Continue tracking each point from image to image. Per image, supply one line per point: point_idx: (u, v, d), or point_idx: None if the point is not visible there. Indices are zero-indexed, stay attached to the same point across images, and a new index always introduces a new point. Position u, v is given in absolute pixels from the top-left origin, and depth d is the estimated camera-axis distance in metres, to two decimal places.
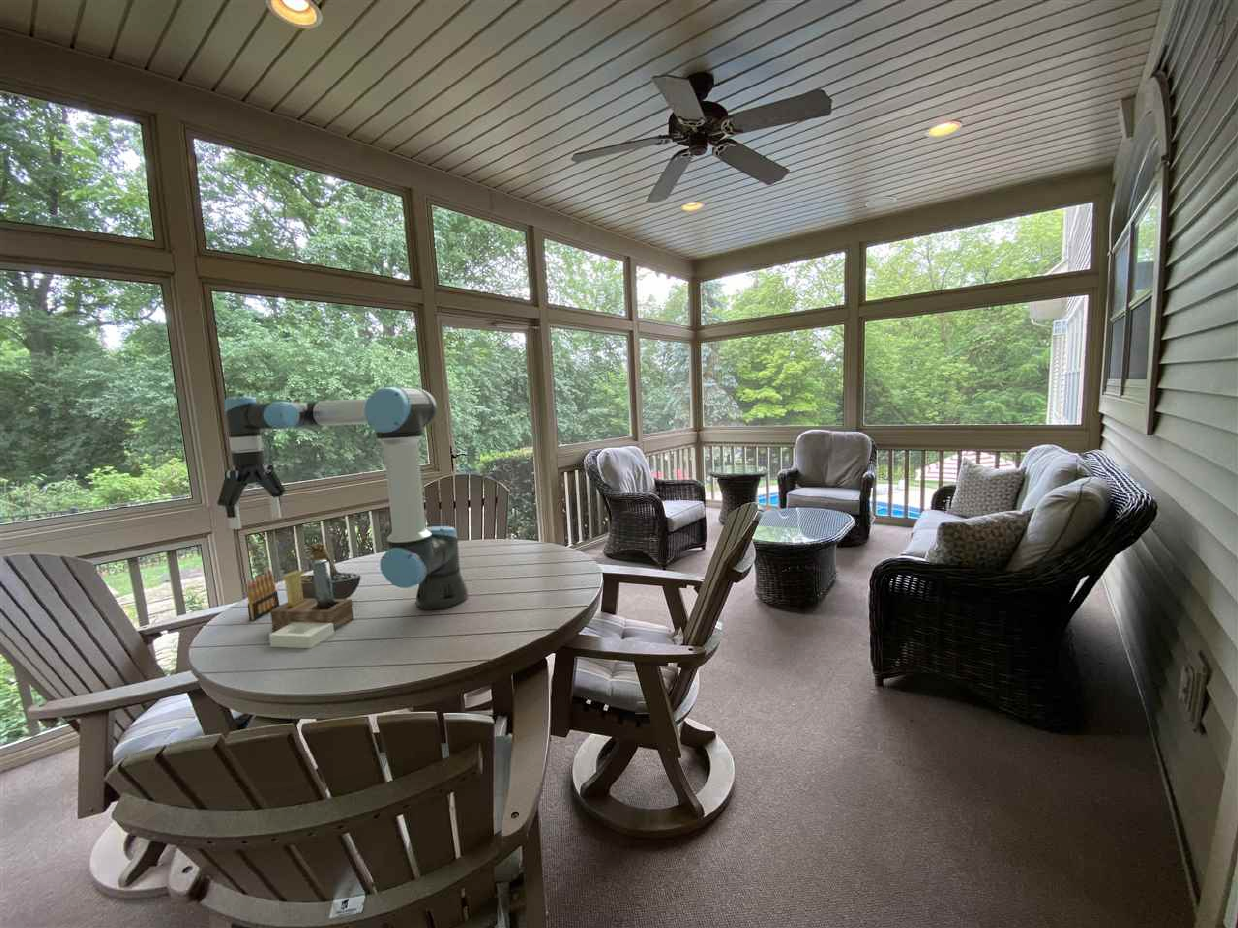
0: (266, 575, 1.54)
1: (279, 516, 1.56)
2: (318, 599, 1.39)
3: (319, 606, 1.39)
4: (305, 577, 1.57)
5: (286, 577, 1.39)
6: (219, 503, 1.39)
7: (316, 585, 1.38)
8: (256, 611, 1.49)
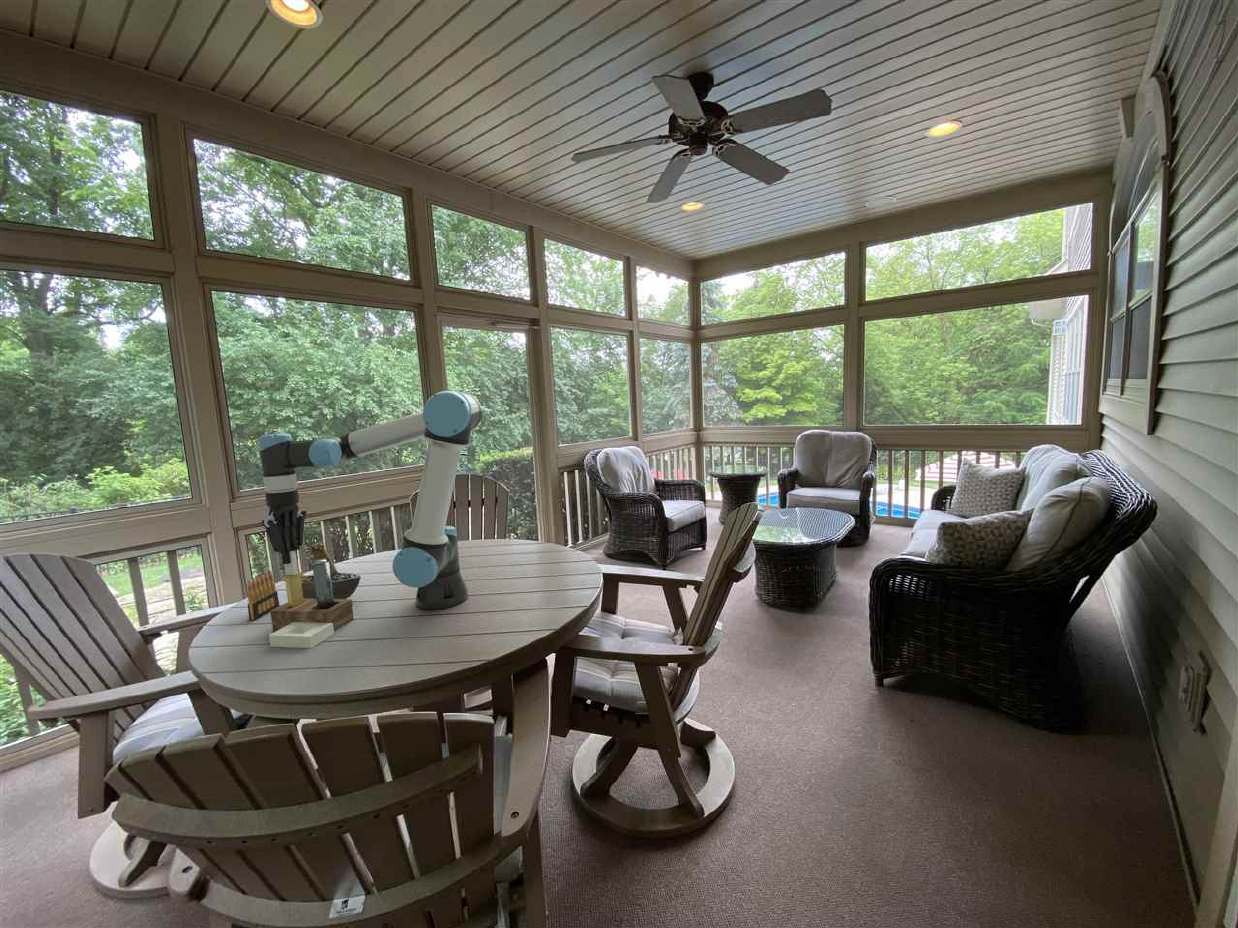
0: (266, 575, 1.54)
1: (296, 572, 1.41)
2: (318, 599, 1.39)
3: (319, 606, 1.39)
4: (305, 577, 1.57)
5: (286, 578, 1.39)
6: (275, 550, 1.37)
7: (316, 585, 1.38)
8: (256, 611, 1.49)
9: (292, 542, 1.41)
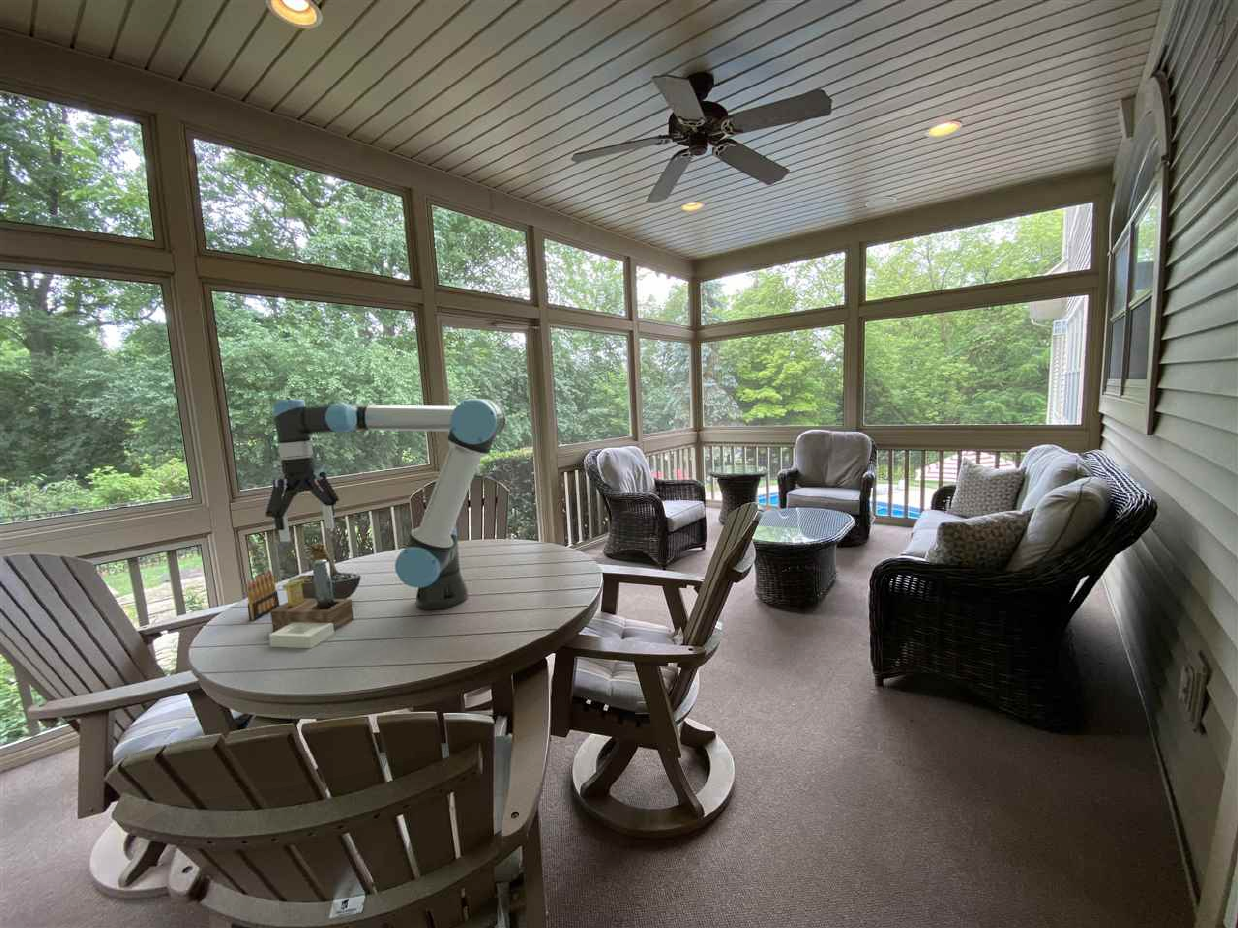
0: (266, 575, 1.54)
1: (332, 527, 1.45)
2: (318, 599, 1.39)
3: (319, 606, 1.39)
4: (305, 577, 1.57)
5: (287, 586, 1.39)
6: (267, 514, 1.29)
7: (316, 585, 1.38)
8: (256, 611, 1.49)
9: (326, 501, 1.44)
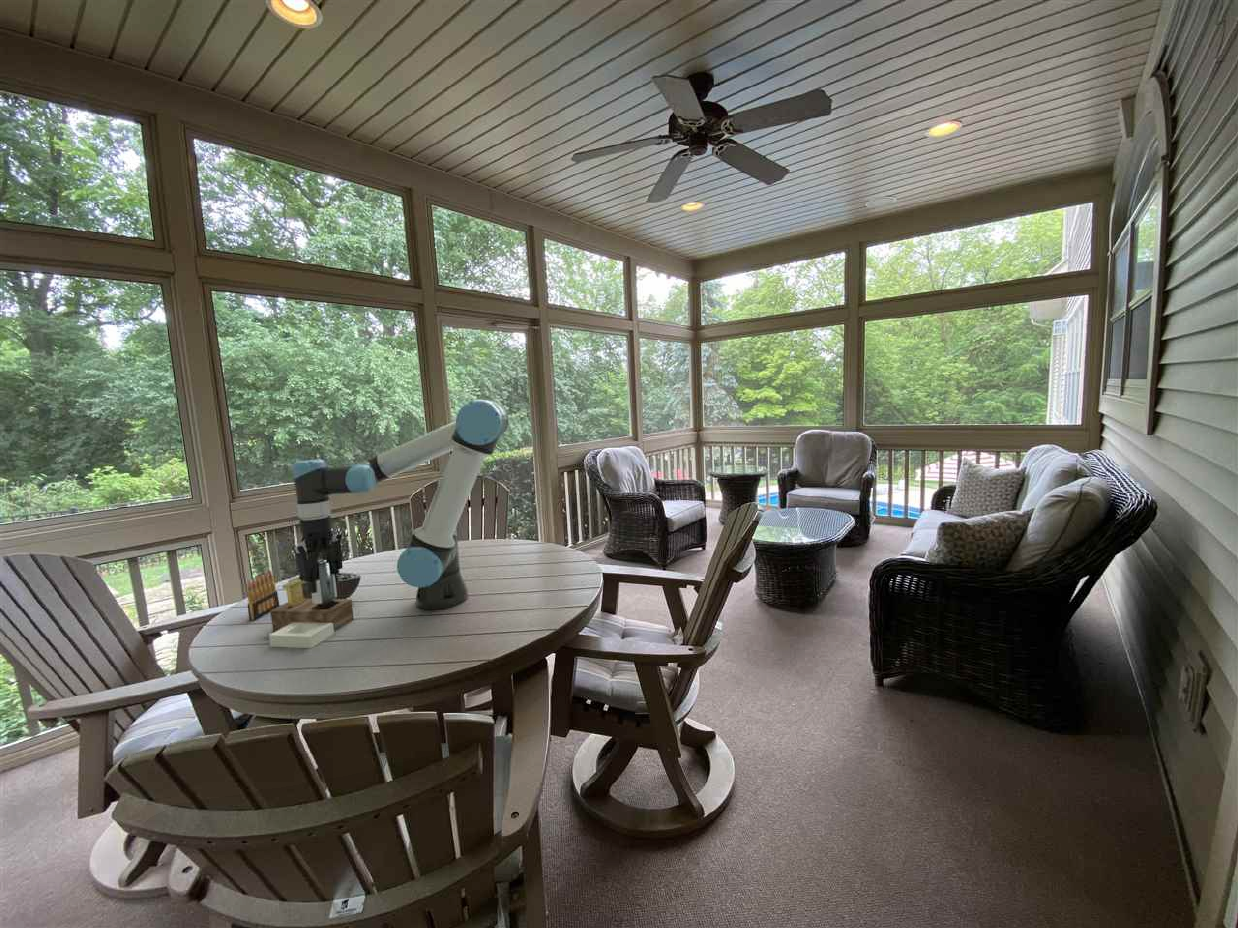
0: (266, 575, 1.54)
1: (335, 595, 1.42)
2: None
3: (319, 606, 1.39)
4: None
5: (287, 586, 1.39)
6: (301, 579, 1.35)
7: None
8: (256, 611, 1.49)
9: (331, 567, 1.42)
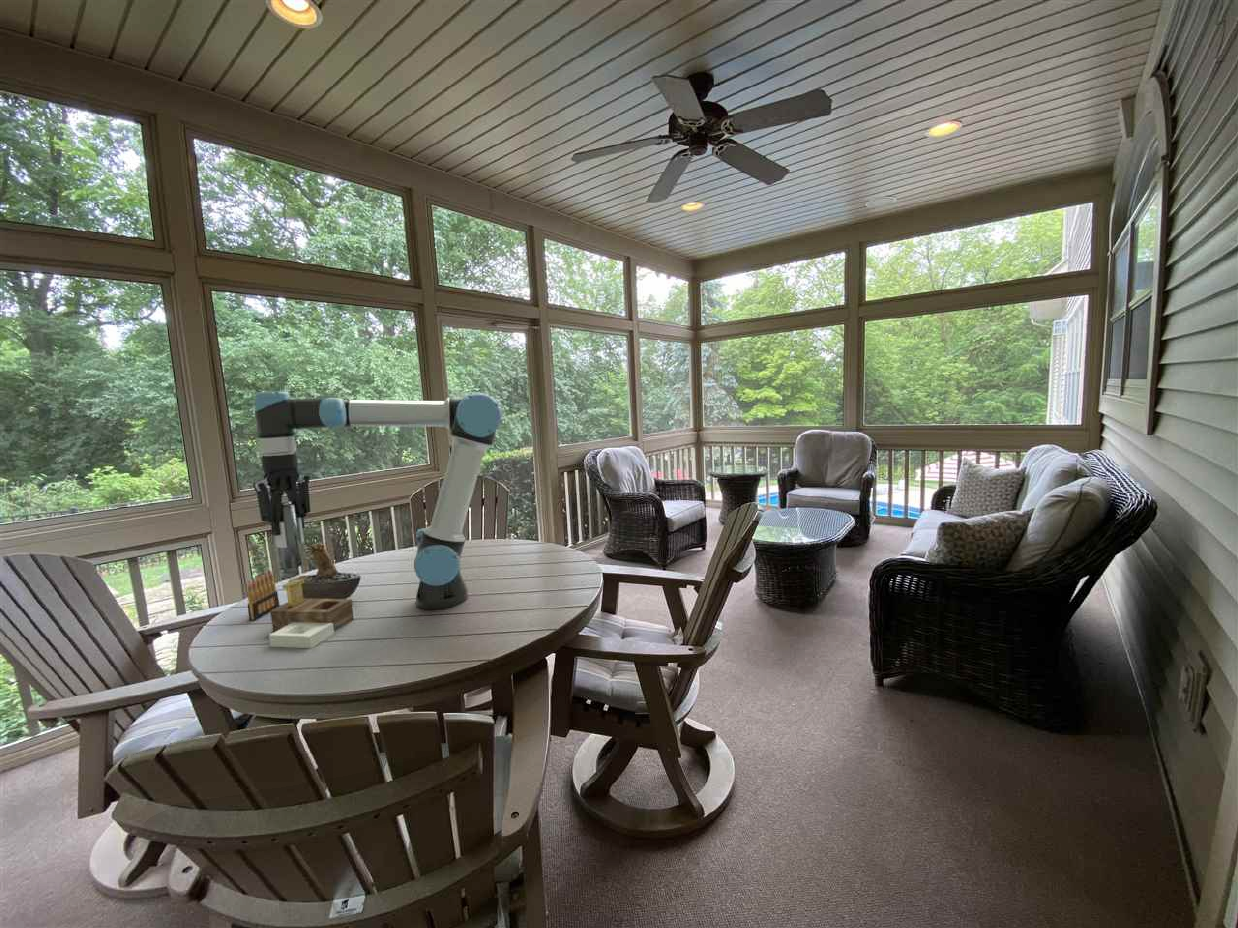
0: (266, 575, 1.54)
1: (301, 541, 1.32)
2: None
3: (284, 551, 1.29)
4: (305, 577, 1.57)
5: (287, 586, 1.39)
6: (263, 519, 1.24)
7: None
8: (256, 611, 1.49)
9: (297, 509, 1.31)
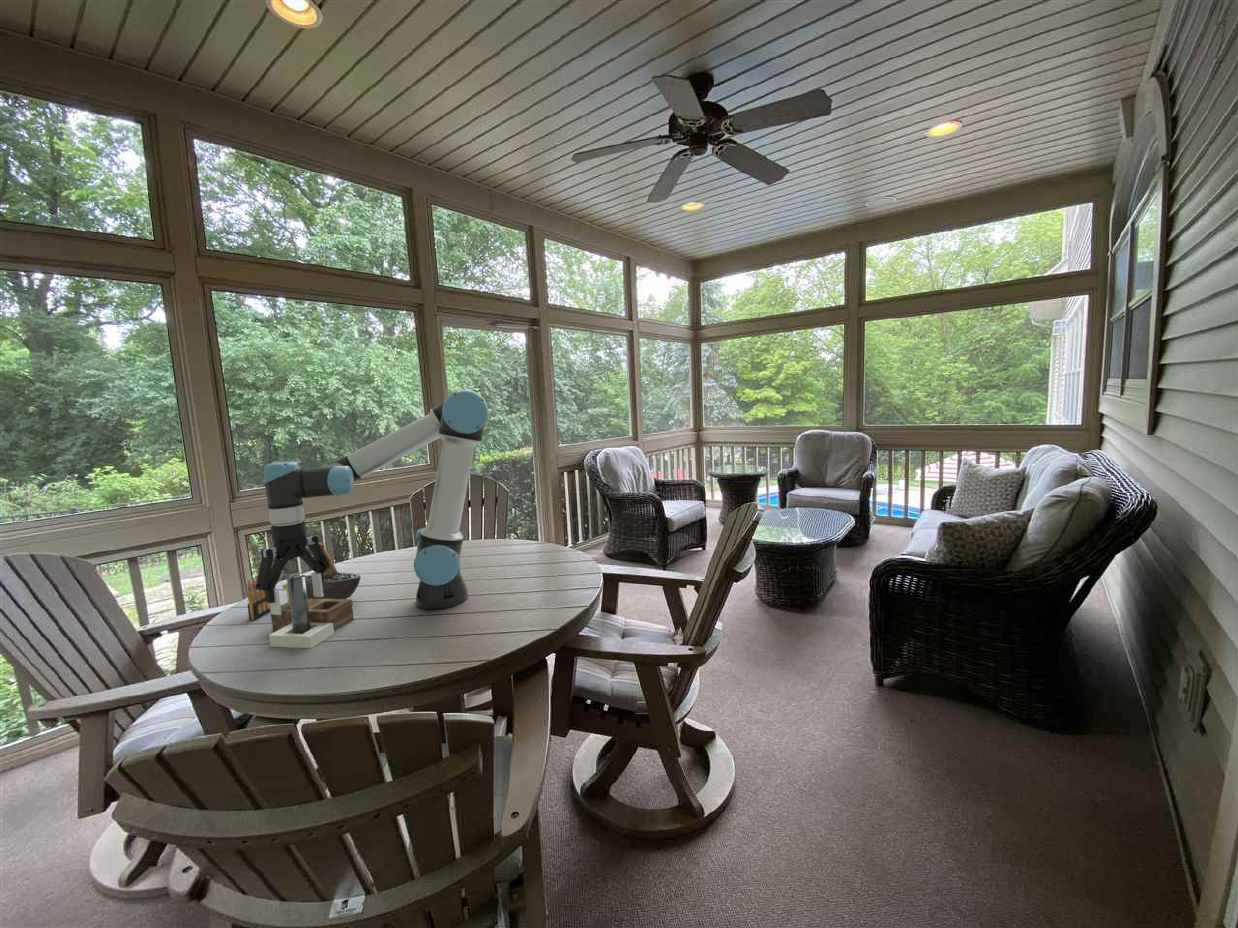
0: None
1: (321, 595, 1.37)
2: (292, 615, 1.31)
3: (294, 623, 1.31)
4: (305, 577, 1.57)
5: (287, 586, 1.39)
6: (257, 588, 1.23)
7: (291, 601, 1.30)
8: (256, 611, 1.49)
9: (315, 567, 1.36)
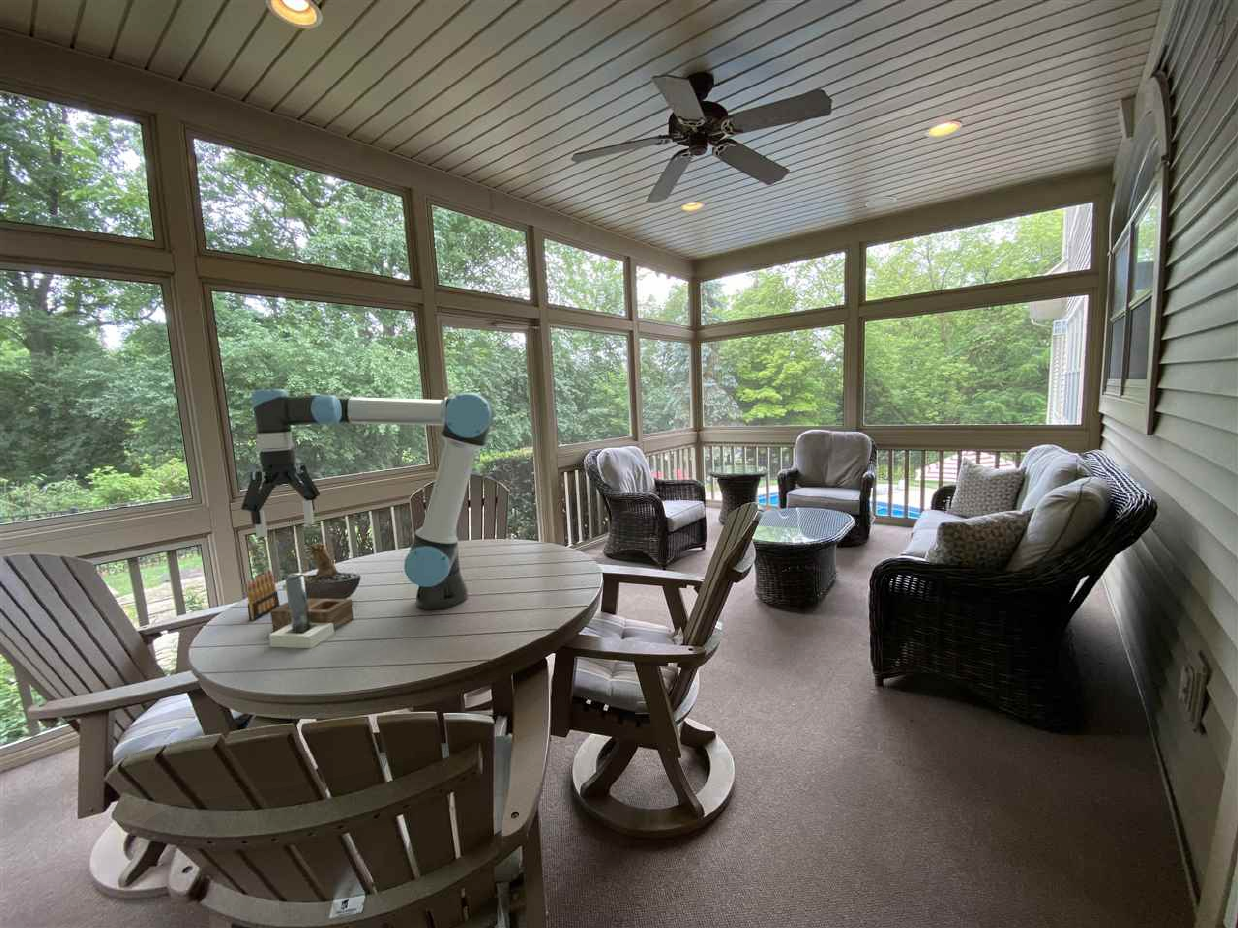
0: (266, 575, 1.54)
1: (312, 522, 1.40)
2: (292, 615, 1.31)
3: (293, 623, 1.31)
4: (305, 577, 1.57)
5: None
6: (243, 508, 1.24)
7: (290, 600, 1.30)
8: (256, 611, 1.49)
9: (306, 495, 1.39)
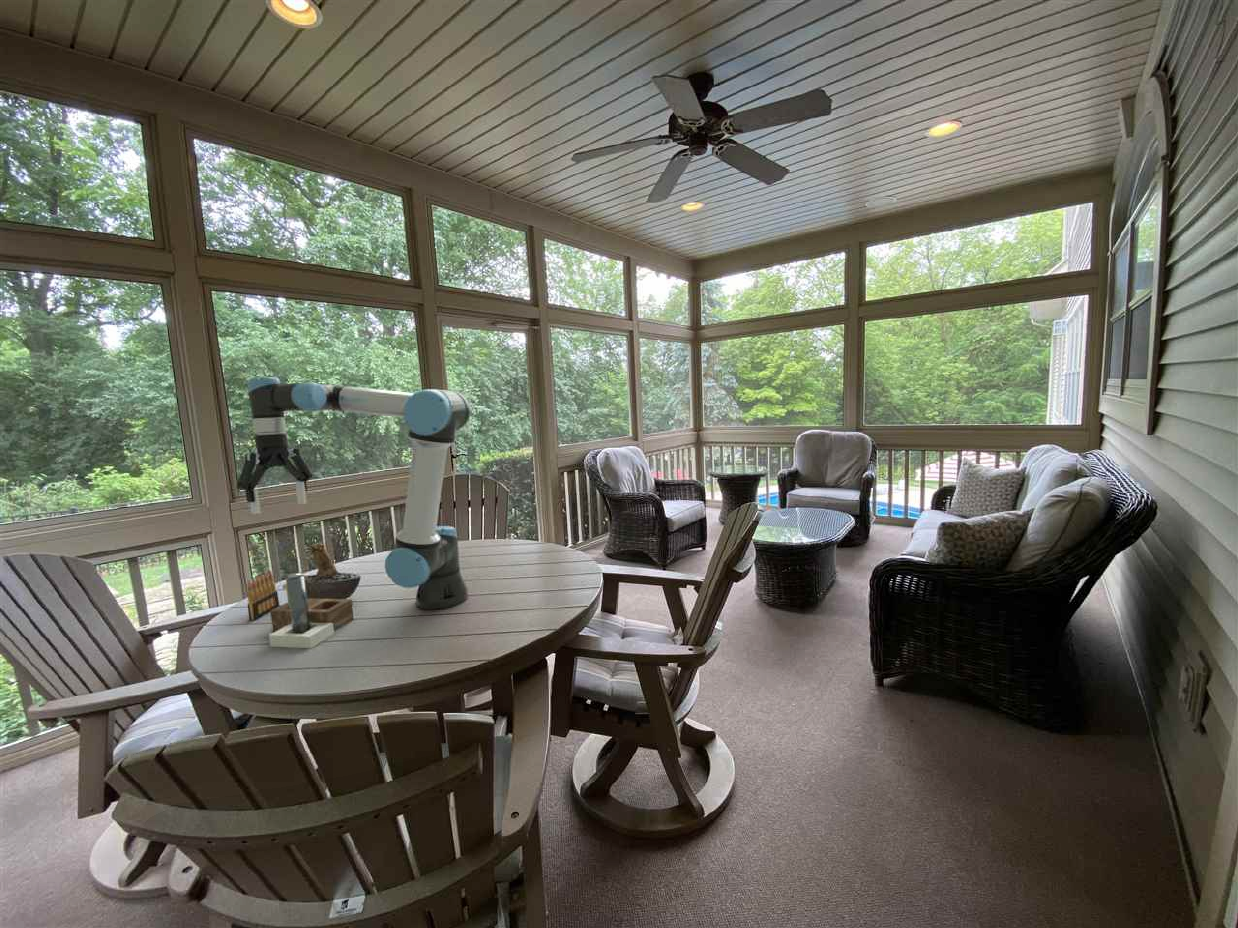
0: (266, 575, 1.54)
1: (304, 502, 1.50)
2: (292, 615, 1.31)
3: (293, 623, 1.31)
4: (305, 577, 1.57)
5: None
6: (238, 486, 1.34)
7: (290, 600, 1.30)
8: (256, 611, 1.49)
9: (299, 476, 1.49)
